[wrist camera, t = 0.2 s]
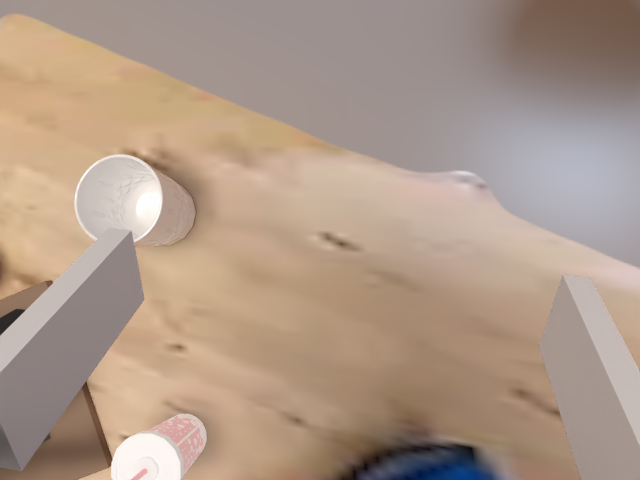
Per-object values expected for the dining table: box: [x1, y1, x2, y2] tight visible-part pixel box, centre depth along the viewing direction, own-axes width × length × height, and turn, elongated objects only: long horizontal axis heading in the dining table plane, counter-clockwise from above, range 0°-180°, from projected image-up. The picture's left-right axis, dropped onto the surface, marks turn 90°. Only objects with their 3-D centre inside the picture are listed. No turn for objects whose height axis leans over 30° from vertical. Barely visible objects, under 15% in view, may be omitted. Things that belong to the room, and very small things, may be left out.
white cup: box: [74, 154, 196, 247], centre depth 49 cm, size 8×8×10 cm
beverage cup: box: [111, 414, 206, 480], centre depth 45 cm, size 6×6×14 cm
